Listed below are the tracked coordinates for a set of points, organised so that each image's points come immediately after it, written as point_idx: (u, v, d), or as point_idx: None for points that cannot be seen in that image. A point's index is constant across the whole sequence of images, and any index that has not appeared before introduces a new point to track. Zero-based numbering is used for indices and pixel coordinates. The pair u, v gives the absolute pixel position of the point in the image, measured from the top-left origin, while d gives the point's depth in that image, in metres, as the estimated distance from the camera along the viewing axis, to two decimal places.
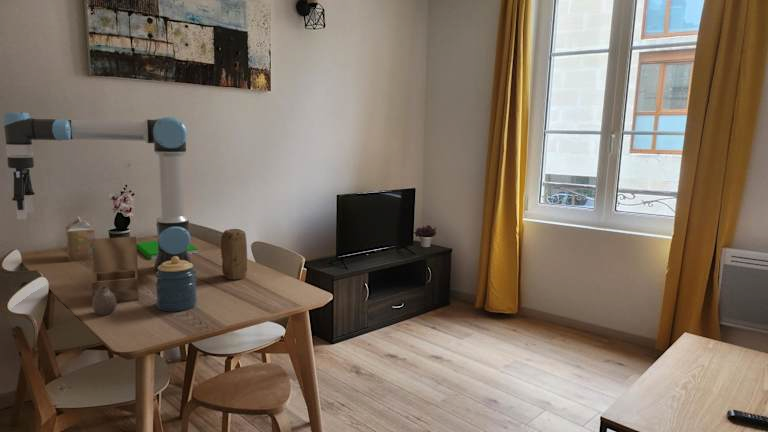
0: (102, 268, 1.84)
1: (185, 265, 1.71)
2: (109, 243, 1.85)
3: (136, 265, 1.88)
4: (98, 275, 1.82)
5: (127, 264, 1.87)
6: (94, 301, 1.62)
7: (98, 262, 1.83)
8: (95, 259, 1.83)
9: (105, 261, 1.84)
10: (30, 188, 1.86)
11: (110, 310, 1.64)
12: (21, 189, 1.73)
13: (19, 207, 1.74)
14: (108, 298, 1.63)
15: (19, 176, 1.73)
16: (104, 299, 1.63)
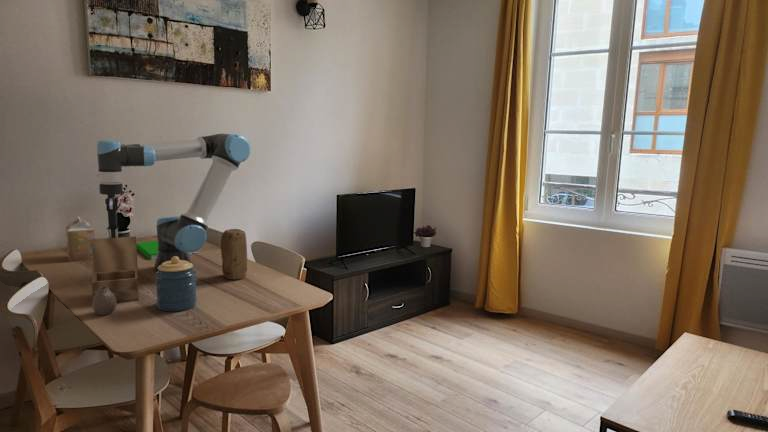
0: (102, 268, 1.84)
1: (185, 265, 1.71)
2: (109, 243, 1.85)
3: (136, 265, 1.88)
4: (98, 275, 1.82)
5: (127, 264, 1.87)
6: (94, 301, 1.62)
7: (98, 262, 1.83)
8: (95, 259, 1.83)
9: (105, 261, 1.84)
10: (116, 219, 1.88)
11: (110, 310, 1.64)
12: (115, 220, 1.83)
13: (112, 235, 1.86)
14: (108, 298, 1.63)
15: (112, 208, 1.81)
16: (104, 299, 1.63)
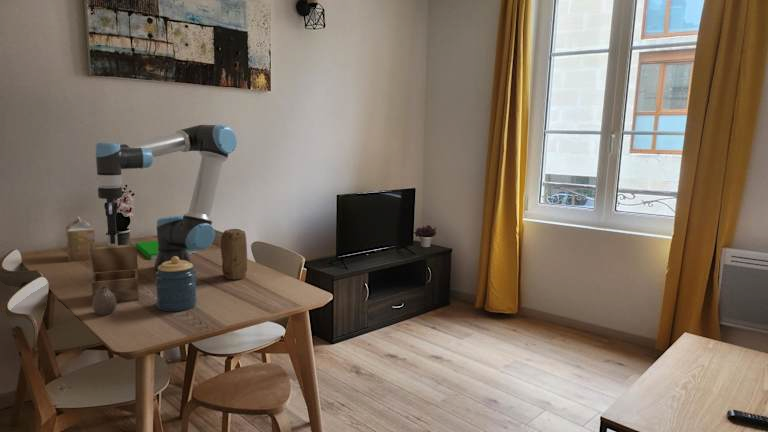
0: (102, 269, 1.83)
1: (185, 265, 1.71)
2: (108, 252, 1.78)
3: (136, 266, 1.88)
4: (98, 275, 1.82)
5: (127, 266, 1.86)
6: (94, 301, 1.62)
7: (98, 265, 1.81)
8: (94, 263, 1.80)
9: (105, 264, 1.82)
10: None
11: (110, 310, 1.64)
12: (114, 225, 1.76)
13: (112, 241, 1.79)
14: (108, 298, 1.63)
15: (111, 213, 1.74)
16: (104, 299, 1.63)
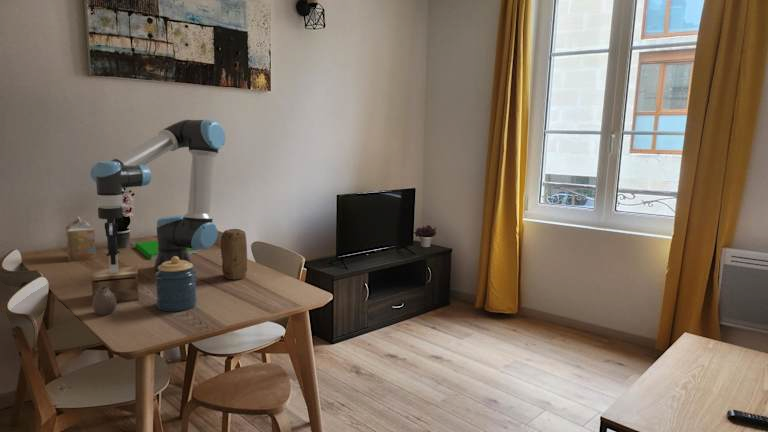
0: None
1: (185, 265, 1.71)
2: None
3: None
4: None
5: None
6: (94, 301, 1.62)
7: None
8: None
9: None
10: (116, 244, 1.77)
11: (110, 310, 1.64)
12: (115, 246, 1.72)
13: (112, 262, 1.75)
14: (108, 298, 1.63)
15: (112, 234, 1.70)
16: (104, 299, 1.63)
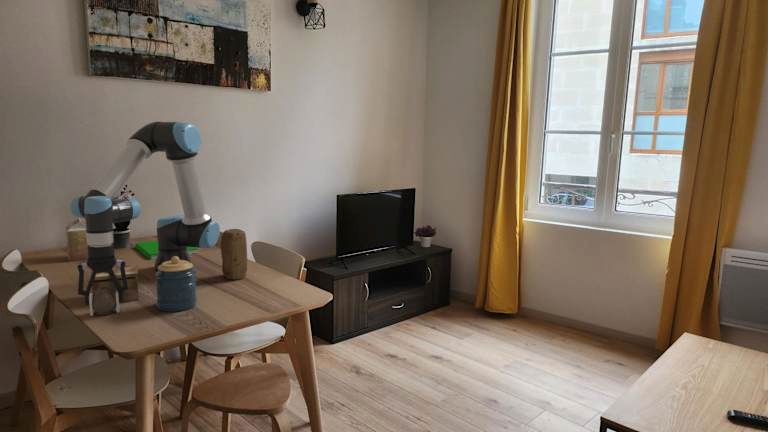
0: None
1: (185, 265, 1.71)
2: None
3: None
4: None
5: None
6: (94, 301, 1.62)
7: None
8: None
9: None
10: (116, 284, 1.65)
11: (110, 310, 1.64)
12: None
13: None
14: (108, 298, 1.63)
15: None
16: (105, 299, 1.63)
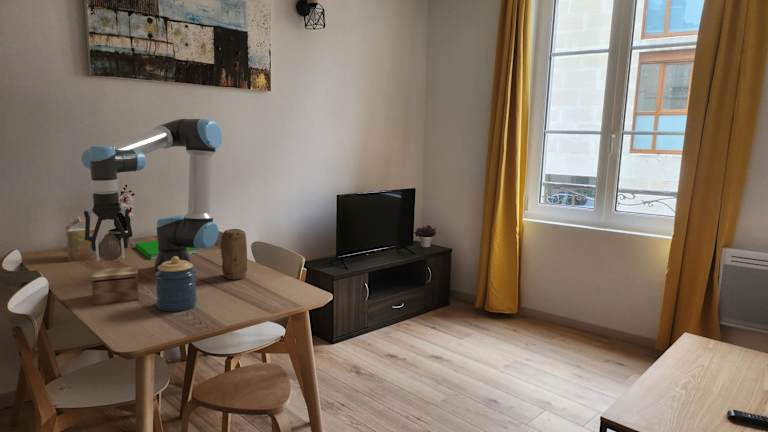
0: None
1: (185, 265, 1.71)
2: None
3: None
4: None
5: None
6: (100, 247, 1.69)
7: None
8: None
9: None
10: (121, 230, 1.72)
11: (116, 255, 1.71)
12: (85, 230, 1.67)
13: (92, 247, 1.70)
14: (114, 244, 1.70)
15: None
16: (110, 244, 1.69)
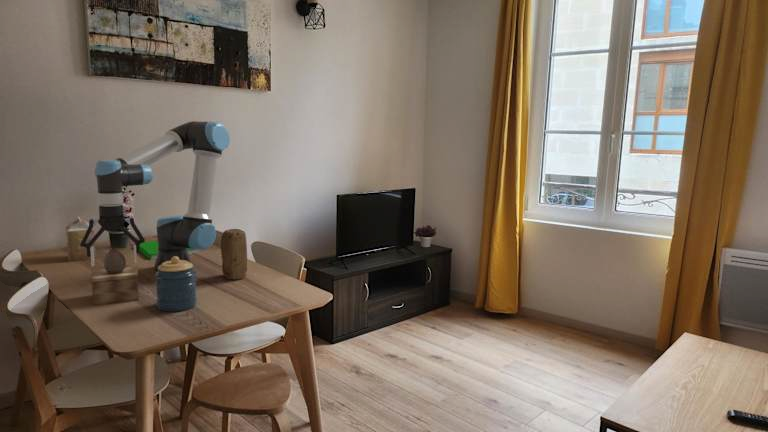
0: None
1: (185, 265, 1.71)
2: None
3: None
4: None
5: None
6: (105, 260, 1.76)
7: None
8: None
9: None
10: (132, 238, 1.79)
11: (120, 269, 1.78)
12: (84, 237, 1.73)
13: (87, 253, 1.75)
14: (118, 258, 1.77)
15: None
16: (115, 258, 1.77)
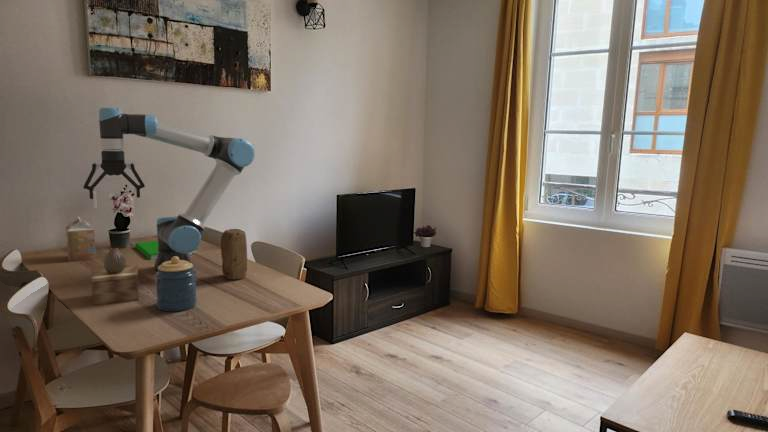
0: None
1: (185, 265, 1.71)
2: None
3: None
4: None
5: None
6: (105, 260, 1.76)
7: None
8: None
9: None
10: (132, 182, 1.90)
11: (120, 269, 1.78)
12: (87, 179, 1.84)
13: (90, 196, 1.86)
14: (118, 258, 1.77)
15: None
16: (115, 258, 1.77)
